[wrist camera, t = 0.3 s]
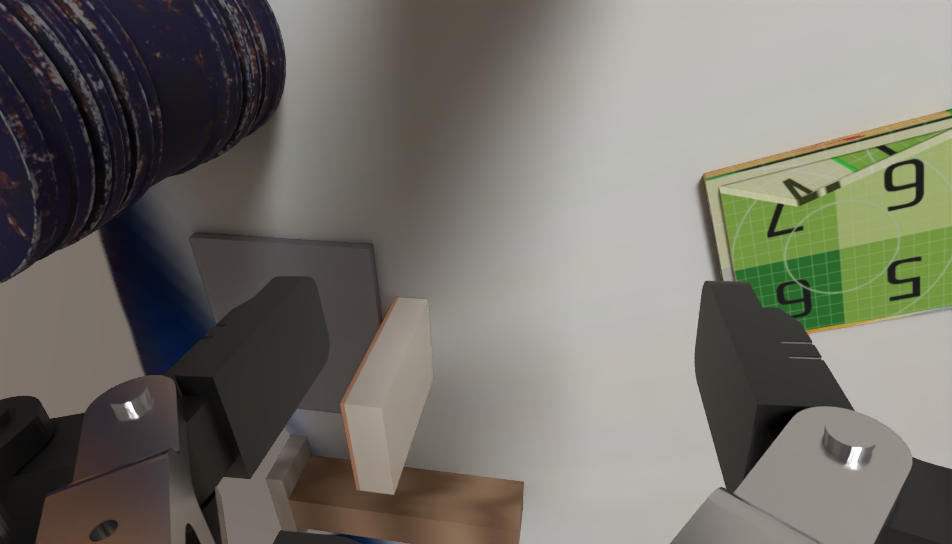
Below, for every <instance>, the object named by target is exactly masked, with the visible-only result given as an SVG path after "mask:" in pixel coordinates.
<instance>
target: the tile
mask: <svg viewBox="0 0 952 544" xmlns="http://www.w3.org/2000/svg"><path fill="white" fill-rule="evenodd" d="M433 379H434V370H433V357H432V343H431V330H430V316H429V303H428V299H415V298H402V297H395V299H394V301H393V303H392V305H391V307H390V308H389V310H388V312H387V314H386V316H385V318H384V320H383V322H382V324H381V326H380V328H379V330H378V332H377V333H376V335H375V337H374V339H373V341H372V343H371V345H370V347H369V349H368V351H367V353H366V355H365V357H364V358H363V360H362V362H361V364H360V366H359V368H358V370H357V372H356V374H355V376H354V378H353V380H352V382H351V383H350V385H349V387H348V389H347V391H346V393H345V395H344V397H343V399H342V401H341V403H340V407H341V412H342V417H343V422H344V427H345V433H346V438H347V443H348V448H349V453H350V459H351V464H352V469H353V474H354V479H355V485H356V490H361V491H368V492H376V493H383V494H391V495H394V494H395V491H396V488H397V485H398V482H399V479H400V476H401V473H402V470H403V467H404V464H405V461H406V458H407V455H408V452H409V449H410V446H411V443H412V441H413V438H414V435H415V432H416V429H417V426H418V423H419V420H420V417H421V414H422V411H423V408H424V405H425V402H426V399H427V396H428V393H429V390H430V388H431V385H432V382H433Z"/></svg>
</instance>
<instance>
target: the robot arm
mask: <svg viewBox="0 0 952 544" xmlns="http://www.w3.org/2000/svg"><path fill="white" fill-rule="evenodd" d="M329 350H330V339H329V334H328V330H327V325H326V321H325V317H324V313H323V309H322V304H321V300H320V296H319V292H318V288H317V285H316V282H315V281H314V279H313V278H312V277H309V276H276V277H274V278H273V279H271V280H270V281H269V282H268V283H267V284H266V285H265V286H264V287H263V288H262V289H261V290H260V291H259V292H258V293H257V294H256V295H255V296H254V297H253V298H251V299H249V300H248V301H246V302H244V303H242V304H241V305H239V306H237V307H235V308H234V309H232V310H231V311H230V312H228V313H227V314H226V315H225V316H224V317H223V318H222V319H221V320H220V321H219V322H218V323H217V324H216V327H213V328H212V329H211V330H210V331H209V332H208V333H207V334H206V335H204V339H200V340H199V341H198V342H197V343H196V344H195V345H194V346H193V347H192V348H191V349H190V350H189V351H188V352H187V353H186V354H185V355H184V356H183V357H182V358H180V359H179V360H178V361H177V362H176V363H175V364H174V365H173V366H172V367H171V368H170V369H169V370H168V371H167V372H166V373H165V374H164V375H163V376H161V375H151V376H143V377H139V378H135V379H131V380H129V381H126V382H124V383H121V384H119V385H117V386H115V387H113V388H111V389H109V390H107V391H106V392H104V393H103V394H101V395H100V396H99V397H97V398H96V399H95V400H94V401H93V402H92V403H91V404H90V405H89V407H88V408H87V410H86V412H85V413H81V414H75V415H70V416H64V417H58V418H52V419H50V418H49V417H48V415H47V413H46V411H45V409H44V408H43V406H42V404H41V402H40V401H39V399H37V398H35V397H32V396H16V397H10V398H6V399H2V400H0V544H228V541H227V534H226V527H225V521H224V513H223V505H222V500H221V495H220V493H219V491H218V488H217V485H218V484H219V482H220V481H221V479H222V478H223V477H232V478H245V479H250V478H251V477H252V475H253V474H254V472H255V471H256V469H257V468H258V466H259V465H260V463H261V462H262V460H263V458H264V457H265V456H266V454H267V453H268V451H269V450H270V448H271V447H272V445H273V444H274V442H275V441H276V439H277V437H278V436H279V434H280V433H281V431H282V430H283V428H284V427H285V425H286V424H287V422H288V421H289V419H290V418H291V416H292V415H293V413H294V412H295V410H296V409H297V407H298V406H299V404H300V403H301V401H302V400H303V398H304V396H305V395H306V393H307V392H308V390H309V389H310V387H311V386H312V384H313V383H314V381H315V380H316V378H317V377H318V375H319V374H320V372H321V371H322V369H323V368H324V366H325V364H326V362H327V359H328V356H329ZM695 373H696V380H697V384H698V387H699V391H700V395H701V398H702V402H703V406H704V409H705V413H706V416H707V420H708V424H709V427H710V431H711V435H712V438H713V442H714V446H715V449H716V453H717V457H718V460H719V464H720V468H721V471H722V475H723V478H724V482H725V486H726V489H725V488H723V487H720V488H718V489H716V490H715V491H714V492H713V493H711V495H710V496H709V497H708V498H707V499H706V500H705V502H704V503H703V504H702V505H701V506H700V508H699V509H698V510H697V511H696V513H695V514H694V515H693V516H692V517H691V519H690V520H689V521H688V522H687V524H686V525H685V526H684V527H683V528H682V530H681V531H680V532H679V533H678V535H677V536H676V537H675V538H674V539H673V541H672V542H671V543H670V544H952V469H949V468H945V467H941V466H938V465H934V464H931V463H927V462H924V461H921V460H919V459H916V458H913V457H912V455H911V452H910V449H909V448H908V446H907V445H906V443H905V442H904V441H903V440H902V438H901V437H900V436H899V435H898V434H896V433H895V432H894V431H893V430H892V429H890V428H889V427H887V426H886V425H884V424H883V423H881V422H879V421H877V420H876V419H874V418H871V417H869V416H867V415H864V414H862V413H859V412H856V411H855V410H854V409H853V407H852V406H851V404H850V402H849V401H848V399H847V397H846V396H845V394H844V392H843V391H842V389H841V388H840V386H839V384H838V383H837V381H836V379H835V378H834V376H833V375H832V373H831V371H830V370H829V368H828V366H827V365H826V363H825V362H824V361H823V360H821V355H820V353H819V352H818V350H817V349H816V347H815V345H812V340H811V339H810V337H809V336H808V334H807V332H806V331H805V329H804V327H803V326H802V324H801V323H800V322H798V321H797V320H796V319H794V318H793V317H791V316H790V315H789V314H787V313H786V312H784V311H783V310H782V309H780V308H772V307H762V306H761V304H760V302H759V300H758V298H757V296H756V294H755V292H754V291H753V289H752V287H751V285H750V283H749V282H748V281H705V283H704V285H703V289H702V295H701V303H700V312H699V320H698V328H697V337H696V345H695ZM273 544H362V543H360V542H357V541H354V540H352V539H349V538H347V537H342V536H332V535H322V534H312V533H302V532H292V531H282V530H281V531H280V532H279V533H278V535H277V537H276V539H275V541H274V543H273Z"/></svg>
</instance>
